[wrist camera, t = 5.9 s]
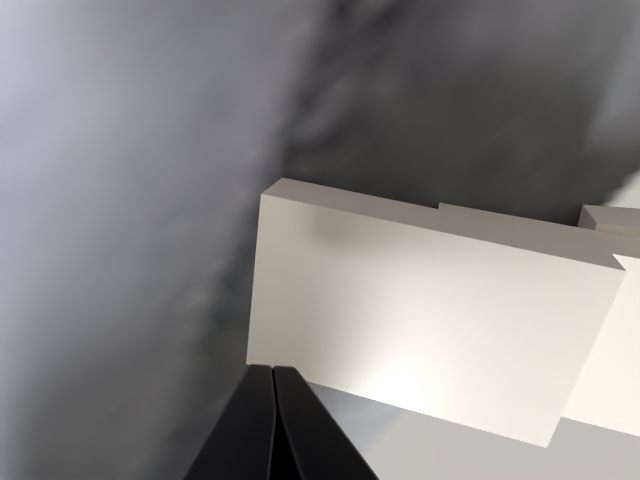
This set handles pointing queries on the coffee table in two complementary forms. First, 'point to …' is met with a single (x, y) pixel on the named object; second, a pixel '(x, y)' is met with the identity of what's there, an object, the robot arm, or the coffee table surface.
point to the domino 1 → (427, 306)
